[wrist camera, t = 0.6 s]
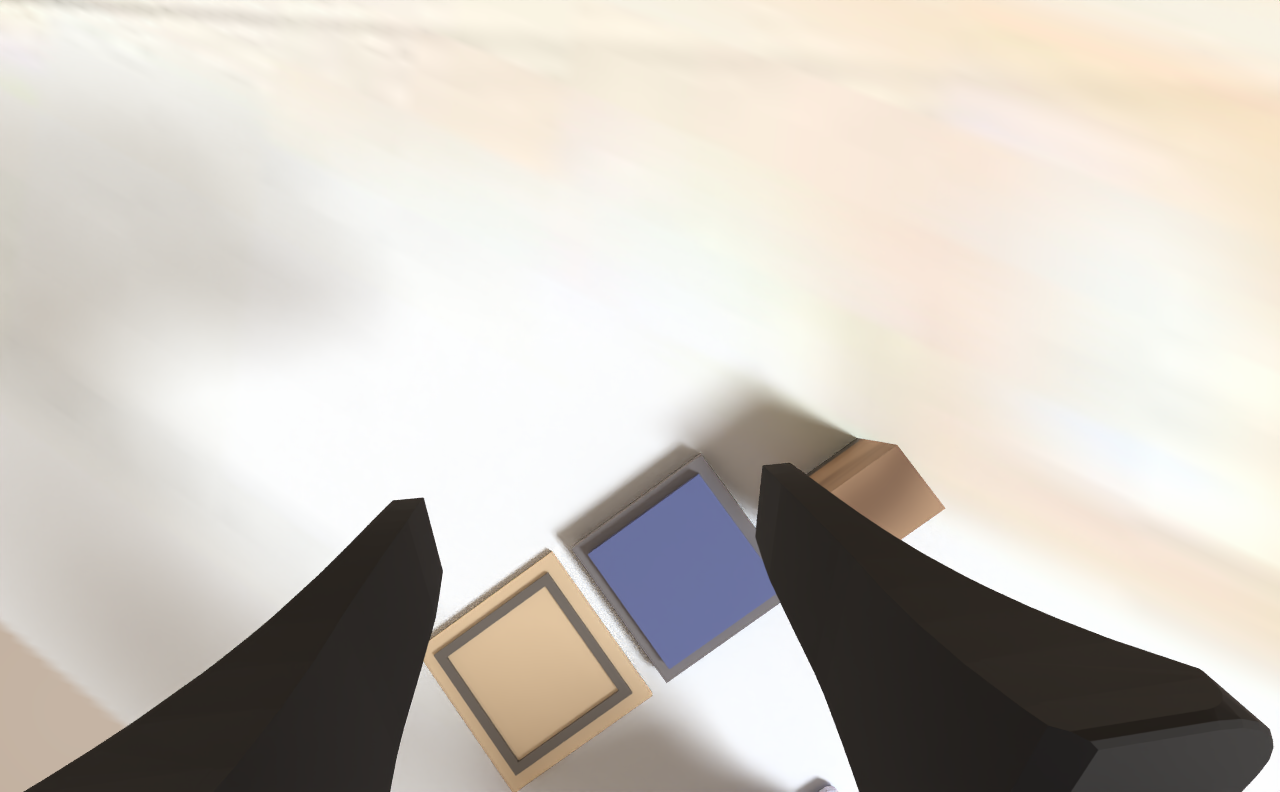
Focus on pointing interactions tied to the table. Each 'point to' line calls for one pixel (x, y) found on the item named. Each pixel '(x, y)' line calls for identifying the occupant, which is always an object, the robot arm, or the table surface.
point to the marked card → (534, 672)
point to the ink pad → (680, 568)
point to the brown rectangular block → (879, 485)
